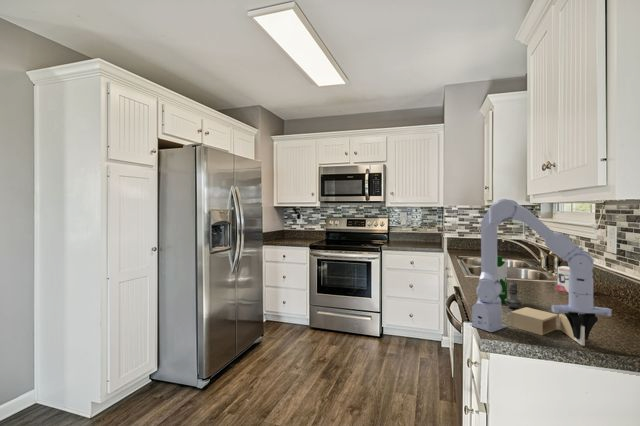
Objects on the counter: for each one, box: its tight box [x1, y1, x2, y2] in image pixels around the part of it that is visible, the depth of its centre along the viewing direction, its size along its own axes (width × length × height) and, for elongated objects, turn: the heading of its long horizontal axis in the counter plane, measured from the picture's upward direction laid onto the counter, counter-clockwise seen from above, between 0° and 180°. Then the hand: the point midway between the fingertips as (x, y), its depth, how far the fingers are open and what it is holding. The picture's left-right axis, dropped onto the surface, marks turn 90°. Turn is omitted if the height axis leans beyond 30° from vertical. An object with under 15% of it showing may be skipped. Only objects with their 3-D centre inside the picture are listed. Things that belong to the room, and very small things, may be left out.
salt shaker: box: [505, 279, 522, 312], centre depth 131 cm, size 6×6×12 cm
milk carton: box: [497, 255, 508, 304], centre depth 144 cm, size 9×9×20 cm
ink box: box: [556, 265, 570, 293], centre depth 159 cm, size 8×5×12 cm, turn 28°
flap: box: [558, 313, 586, 346], centre depth 102 cm, size 14×1×6 cm, turn 165°
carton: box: [510, 306, 559, 336], centre depth 110 cm, size 10×10×5 cm
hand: (580, 338), depth 97 cm, fingers closed
